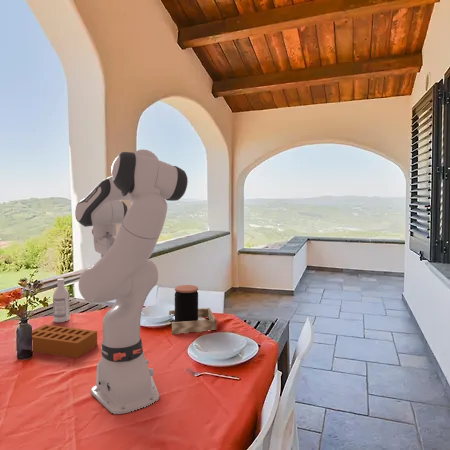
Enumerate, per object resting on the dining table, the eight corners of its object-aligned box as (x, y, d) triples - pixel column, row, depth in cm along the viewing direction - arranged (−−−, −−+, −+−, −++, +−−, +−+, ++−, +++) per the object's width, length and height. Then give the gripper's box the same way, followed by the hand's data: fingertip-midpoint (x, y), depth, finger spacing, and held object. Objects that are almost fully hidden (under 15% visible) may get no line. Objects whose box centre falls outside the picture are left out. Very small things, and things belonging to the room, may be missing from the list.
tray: (172, 334, 148) (172, 323, 147) (169, 320, 164) (169, 310, 164) (216, 330, 152) (216, 319, 152) (209, 317, 169) (209, 307, 168)
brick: (97, 345, 136) (97, 331, 136) (77, 359, 125) (77, 343, 124) (45, 338, 143) (45, 324, 142) (21, 350, 131) (21, 335, 131)
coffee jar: (200, 323, 162) (200, 285, 160) (194, 331, 151) (194, 291, 150) (178, 321, 163) (178, 284, 162) (171, 329, 153) (171, 290, 152)
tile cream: (197, 325, 160) (197, 321, 159) (191, 322, 163) (191, 318, 163) (206, 323, 163) (206, 319, 163) (200, 320, 167) (200, 316, 166)
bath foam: (61, 317, 168) (60, 276, 166) (72, 318, 165) (72, 278, 164) (50, 321, 161) (49, 280, 160) (61, 323, 159) (60, 281, 157)
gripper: (120, 233, 131) (120, 268, 132) (106, 229, 148) (106, 260, 149) (103, 234, 128) (104, 270, 129) (90, 229, 145) (91, 262, 146)
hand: (105, 265), depth 139 cm, fingers closed
